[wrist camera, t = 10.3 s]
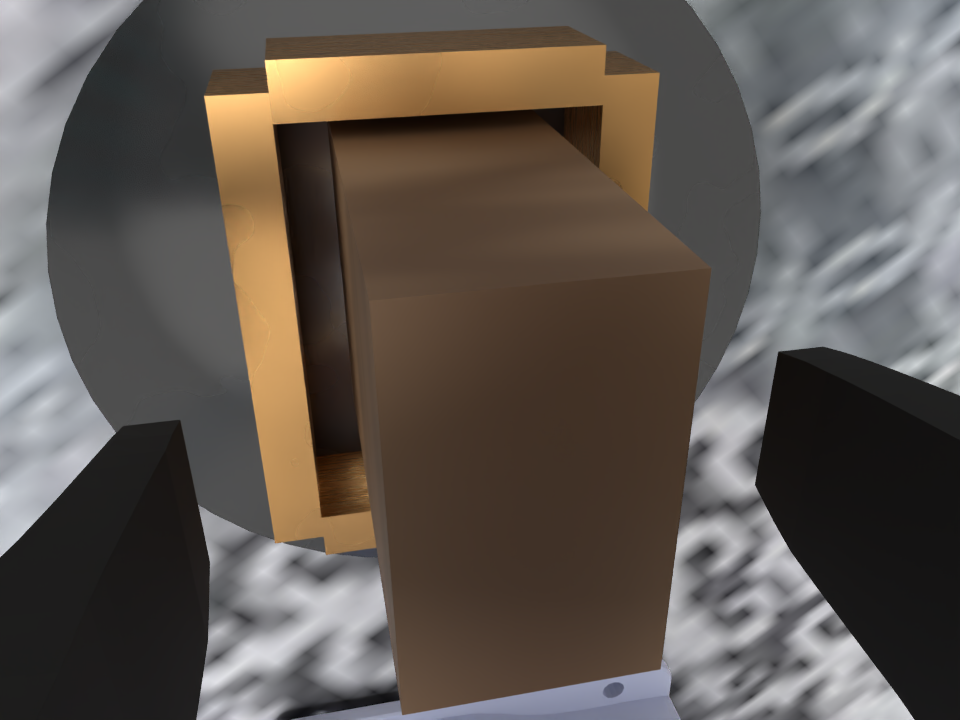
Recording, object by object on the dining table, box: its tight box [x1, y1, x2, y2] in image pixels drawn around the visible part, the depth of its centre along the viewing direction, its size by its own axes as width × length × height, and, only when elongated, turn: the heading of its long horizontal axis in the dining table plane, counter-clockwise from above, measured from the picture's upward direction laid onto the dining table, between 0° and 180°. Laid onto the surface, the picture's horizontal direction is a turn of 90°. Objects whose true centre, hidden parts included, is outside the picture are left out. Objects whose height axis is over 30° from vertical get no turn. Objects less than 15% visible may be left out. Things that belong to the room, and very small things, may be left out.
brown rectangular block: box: [327, 109, 712, 715], centre depth 12 cm, size 3×5×7 cm, turn 0°
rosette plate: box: [46, 0, 761, 557], centre depth 14 cm, size 12×12×2 cm
